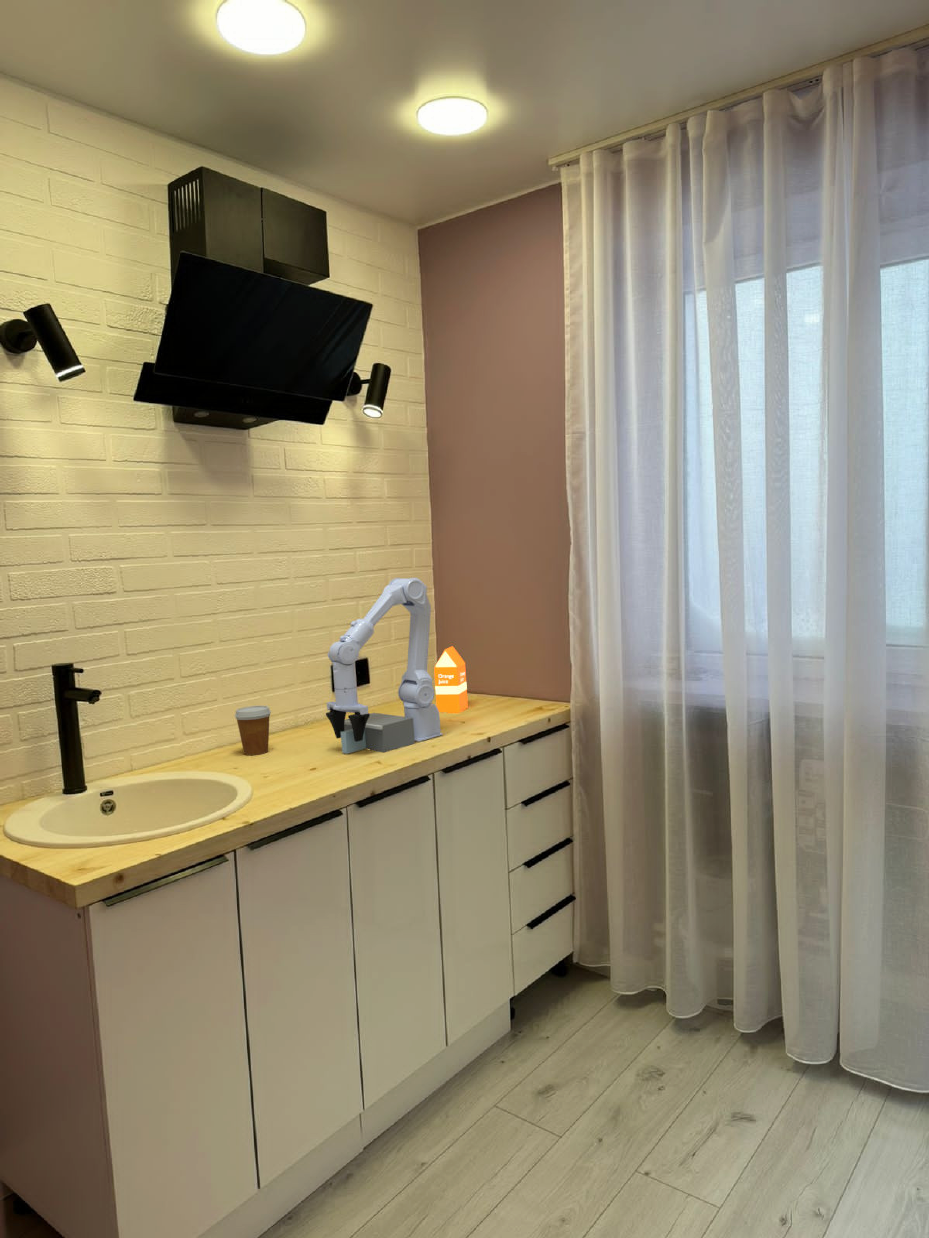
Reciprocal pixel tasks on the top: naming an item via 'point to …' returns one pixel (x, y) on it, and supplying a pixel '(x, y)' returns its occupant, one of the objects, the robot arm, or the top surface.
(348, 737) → the light blue rectangular block
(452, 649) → the orange juice
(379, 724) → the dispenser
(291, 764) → the top surface
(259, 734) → the disposable coffee cup
